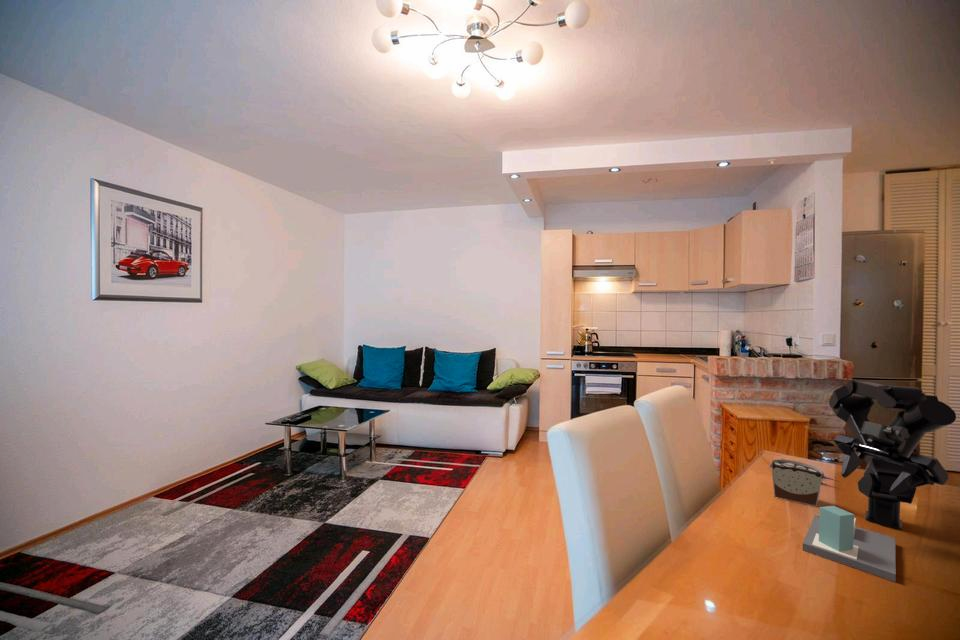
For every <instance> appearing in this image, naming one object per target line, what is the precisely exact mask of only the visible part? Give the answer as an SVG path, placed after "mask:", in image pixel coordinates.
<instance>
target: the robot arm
mask: <svg viewBox="0 0 960 640" xmlns="http://www.w3.org/2000/svg"><path fill="white" fill-rule="evenodd" d="M874 400H877V401H876V403H877V404H878V405H879V406H880V407H882V408H884V409H887V410H888V409H889V410H900V411H898V412H897V413H896V415H895V416H894V417H893V419H892V420H891V422H889V424H888V425H885V424H880V423H876V422H871V421H870V419H869V414H870V412H871V408H873V406H874V404H875V401H874ZM828 402H829V403H828V404H829V407H830V409H832V411H833V413H834V414H835V416H836V417H837V418H839V419H840V420H842V421H843V422H845V423H846V424H847V426H848V428H849V431H850V432H851V434H852V436H850V435H848V434H837V436H836V437H835V438H834V439H833V442H834V444H836V446H837V447H838V449H839V450H840V451H841V453H842V454H843V460H842V469H841V476H842V477H843V478H844V479H846V478H847V477H849V476H850V475H852V473H854V472H855V471H856V470H857V469H858V468H859V467H860V466H861V465H862V464H863V463H864V461H865V463H866V468H865V469H864V473H863V476H861V478H860V479H859V480H858V482H857V487H858V492H860V493H861V494H863V495H864V496H865V497H867V499H868V500H867V510H866V511H865V517H864V519H865V520H866V521H868V522H873V523H876V524H879V525H883V526H886V527H891V528H894V529H897V530H900V531H901V530H903V521H902V519H900V517H901V515H900V514H901V503H906V504H910V505H912V503H913V500H914V497H915V494H916V491H917V488H918V487H923V486H926V485H929V486H934V485H935V484H936V485H940V486H944V485H946V482H948V480H949V474H948V472H947V470H946V469H945V467H943V465H942V463H941V462H940V461H939V460H938V458H935V457H931V456H928V455H924V454H920V453H919V451H920V450H921V448H920V447H919V446H918V445H919V444H920V442H921V441H922V439H923V438H924V437H925V436H926V434H927V433H932V432H935V431H937V430H940V429H942V428H945V427H947V426H950V425H952V424H953V423H954V422H955V421H956V420H957V416H956V415H957V414H956V412H955V411H954V410H953V408H951V407H950V406H949V404H947V403H945V402H942V401H940V400H939V398H938V396H937V395H930V394H928V395H927V394H925V392H923V389H921V388H920V387H917V386H916V387H913V386H904V385H903V386H902V385H886V384H885V385H884V384H881V383H876V382H873V381H870V380H866V379H865V380H864V379H863V380H862V379H851V380H848V381H847V382H846V383H845V385H843V386H841V387H839V388H837V389H835V390H834V391H833V392H832V394H831V395H830V398H829V400H828ZM913 452H915V453H913ZM862 460H864V461H862Z"/></svg>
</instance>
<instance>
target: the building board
mask: <svg viewBox="0 0 960 640" xmlns="http://www.w3.org/2000/svg"><path fill="white" fill-rule="evenodd" d="M813 516H814V517H813V519H812V521H811V523H810V525H809V527H808V530H807V533H806V535H805V537H804V540H803V542H802V551H805V552H806V553H807V552H808V553H810V554H813V555H815V556H818V557H821V558H823V559H824V558H825V559H827V560H831V561H834V562H837V563H840V564H842V565H844V566H848V567H850V568H854V569H856V570H859V571H862V572H865V573H867V574H870V575H873V576H877V577H879V578H882V579H886V580H887V581H891V582H894V583H896V579H897V577H896V574H897V573H896V571H897V570H896V569H897V567H896V566H897V565H896V537H893V536H890V535H886V534H883V533H879V532H875V531H873V530H868V529H867V528H866V529H865V528H861V527H858V526H856V524H857V523H856V521H857V519H856V517H854V537H853V550H847V551H837V550H835V549H833V548H831V547H829V546H827V545H825V544H823V543H821V542H819V515H817V514H814V515H813Z"/></svg>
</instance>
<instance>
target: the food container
mask: <svg viewBox="0 0 960 640" xmlns="http://www.w3.org/2000/svg"><path fill="white" fill-rule="evenodd" d="M770 469H771V473H772V474H771V475H772V484H773V497H774V498H775V497H778V498H777V499H779V498H782V499H781V500H784V499H786V500H785V501H788V500H790V501H789V502H793V501H795V502H794V503H797V502H800V503H799V504H802V503H804V504H803V505H807V504H808V505H807V506H811V505H812V506H811V507H816V508H817V507H818V504H819V503H818V502H819V497H820V490H821V486H822V485H821V482H822V479H823V478H824V480H826V479H825V477H824V475H825V474H824V472H823V469H821V468H820V467H817V466H815V465H812V464H810V463H809V464H808V463H805V462H802V461H797V460H791V459H786V460H782V459H781V458H780V459H778V458H777V459H772V461H771V462H770V464H769V469H768V470H770ZM822 477H823V478H822Z"/></svg>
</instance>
